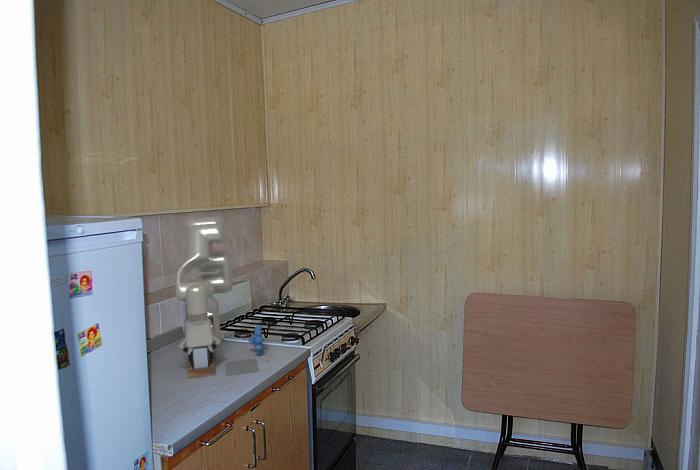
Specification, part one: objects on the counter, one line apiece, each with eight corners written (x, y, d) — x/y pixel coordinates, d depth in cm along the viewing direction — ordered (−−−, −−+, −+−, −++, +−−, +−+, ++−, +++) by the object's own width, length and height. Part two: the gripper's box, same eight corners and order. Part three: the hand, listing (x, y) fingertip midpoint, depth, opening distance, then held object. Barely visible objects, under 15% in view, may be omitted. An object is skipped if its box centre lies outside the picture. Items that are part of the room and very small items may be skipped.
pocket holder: (189, 369, 189) (189, 362, 188) (215, 366, 191) (214, 359, 191) (188, 378, 179) (187, 370, 179) (214, 375, 182) (214, 367, 181)
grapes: (249, 350, 209) (247, 323, 208) (264, 348, 210) (263, 321, 209) (249, 359, 198) (247, 330, 197) (265, 357, 199) (263, 329, 198)
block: (195, 370, 187) (193, 346, 186) (208, 369, 188) (207, 344, 187) (194, 375, 182) (193, 350, 181) (208, 373, 183) (206, 348, 182)
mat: (225, 363, 194) (225, 362, 194) (255, 359, 197) (255, 358, 197) (225, 375, 181) (225, 374, 181) (258, 371, 184) (258, 370, 184)
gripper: (221, 312, 189) (224, 356, 191) (175, 317, 185) (178, 362, 186) (221, 317, 182) (224, 362, 183) (173, 322, 177) (176, 368, 179)
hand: (201, 361), depth 185 cm, fingers open, 6 cm apart
